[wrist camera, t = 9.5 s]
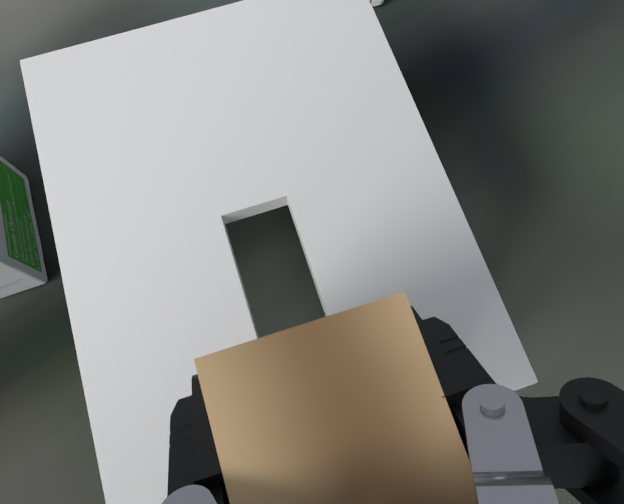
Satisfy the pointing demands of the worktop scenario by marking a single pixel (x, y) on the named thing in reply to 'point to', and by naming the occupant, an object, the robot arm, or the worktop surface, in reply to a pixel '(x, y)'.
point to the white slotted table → (238, 202)
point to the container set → (376, 2)
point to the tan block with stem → (336, 414)
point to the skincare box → (18, 234)
